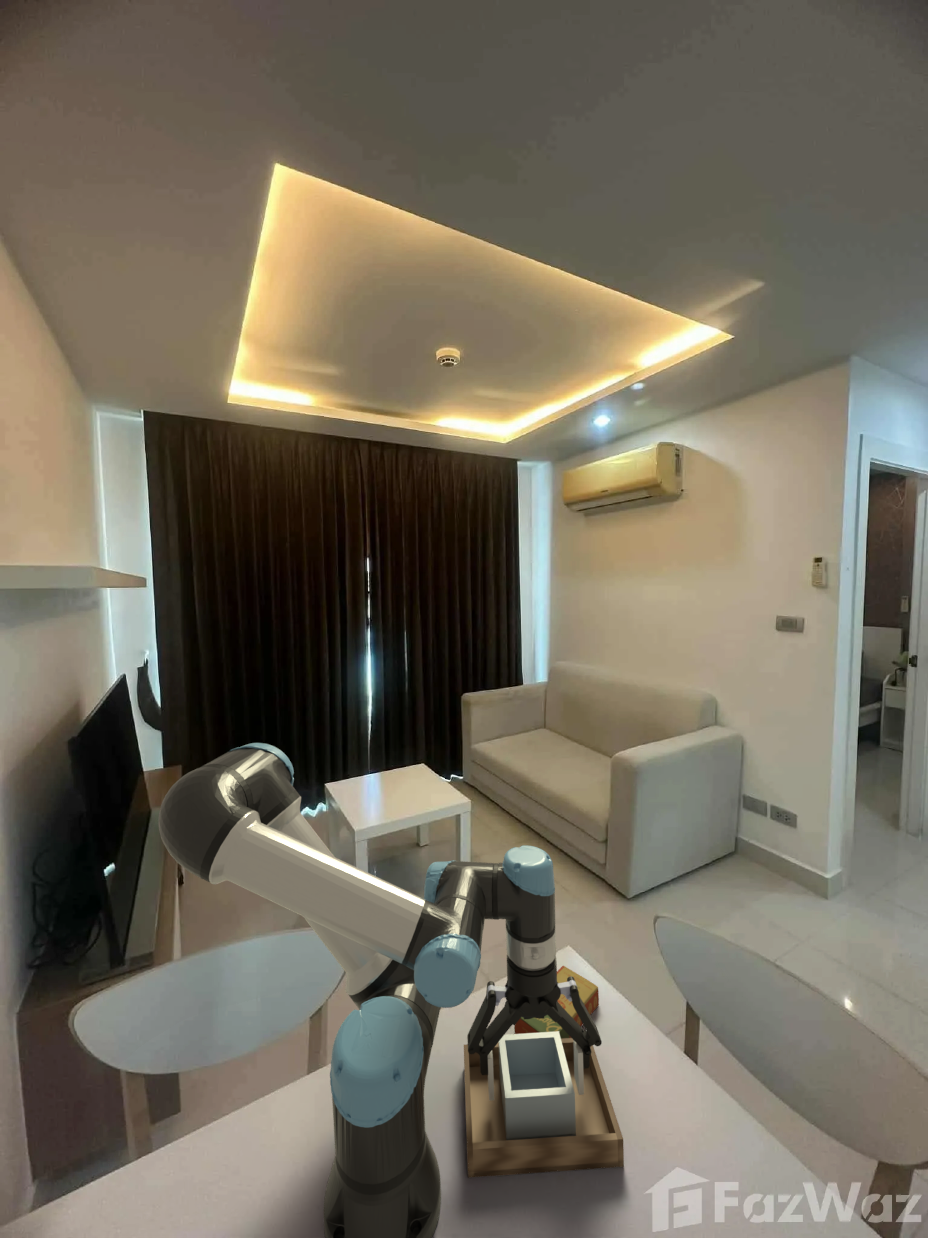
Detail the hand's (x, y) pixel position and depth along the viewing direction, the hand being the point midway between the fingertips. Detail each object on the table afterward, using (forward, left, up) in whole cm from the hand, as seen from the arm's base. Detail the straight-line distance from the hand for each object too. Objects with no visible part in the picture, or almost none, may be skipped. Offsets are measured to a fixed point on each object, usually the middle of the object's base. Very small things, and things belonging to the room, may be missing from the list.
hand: (535, 1089), depth 74 cm
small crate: (0, 0, -3) cm, 3 cm away
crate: (0, 0, -4) cm, 4 cm away
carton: (+7, +16, -4) cm, 18 cm away
